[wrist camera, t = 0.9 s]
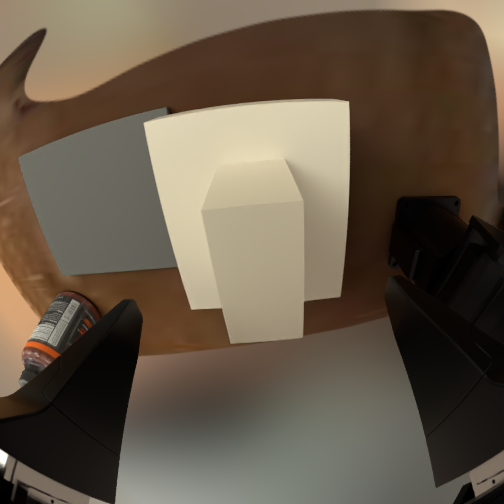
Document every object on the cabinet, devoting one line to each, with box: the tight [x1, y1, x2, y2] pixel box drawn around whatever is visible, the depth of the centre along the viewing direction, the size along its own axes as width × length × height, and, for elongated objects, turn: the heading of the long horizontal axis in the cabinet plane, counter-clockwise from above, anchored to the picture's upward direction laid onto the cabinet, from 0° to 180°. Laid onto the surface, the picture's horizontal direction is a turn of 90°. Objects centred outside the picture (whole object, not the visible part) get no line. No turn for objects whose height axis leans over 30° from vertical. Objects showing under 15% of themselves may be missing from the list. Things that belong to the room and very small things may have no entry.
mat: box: [18, 107, 178, 276], centre depth 19 cm, size 14×12×1 cm
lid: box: [144, 99, 350, 344], centre depth 13 cm, size 9×11×8 cm
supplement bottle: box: [19, 291, 100, 387], centre depth 21 cm, size 6×6×11 cm
